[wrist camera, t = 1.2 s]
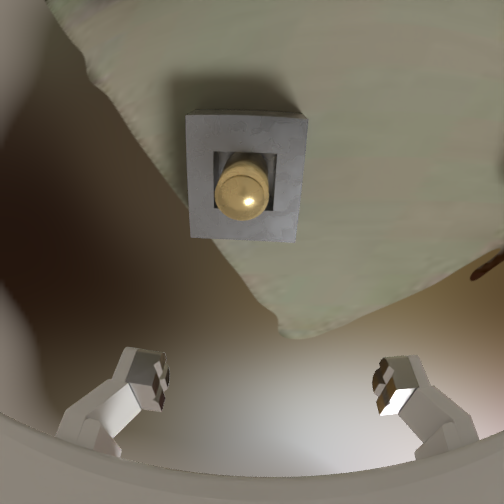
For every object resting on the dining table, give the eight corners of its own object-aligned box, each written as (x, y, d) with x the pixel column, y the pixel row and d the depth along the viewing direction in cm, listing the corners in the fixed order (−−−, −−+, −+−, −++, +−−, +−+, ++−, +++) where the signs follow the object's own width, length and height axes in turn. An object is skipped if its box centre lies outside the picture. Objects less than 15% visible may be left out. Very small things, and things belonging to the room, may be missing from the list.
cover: (224, 148, 33) (213, 171, 26) (269, 150, 33) (270, 174, 26) (224, 189, 36) (214, 222, 29) (266, 191, 36) (267, 224, 29)
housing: (195, 109, 32) (185, 115, 28) (302, 113, 32) (308, 119, 27) (198, 218, 39) (190, 237, 35) (291, 222, 39) (295, 242, 35)
